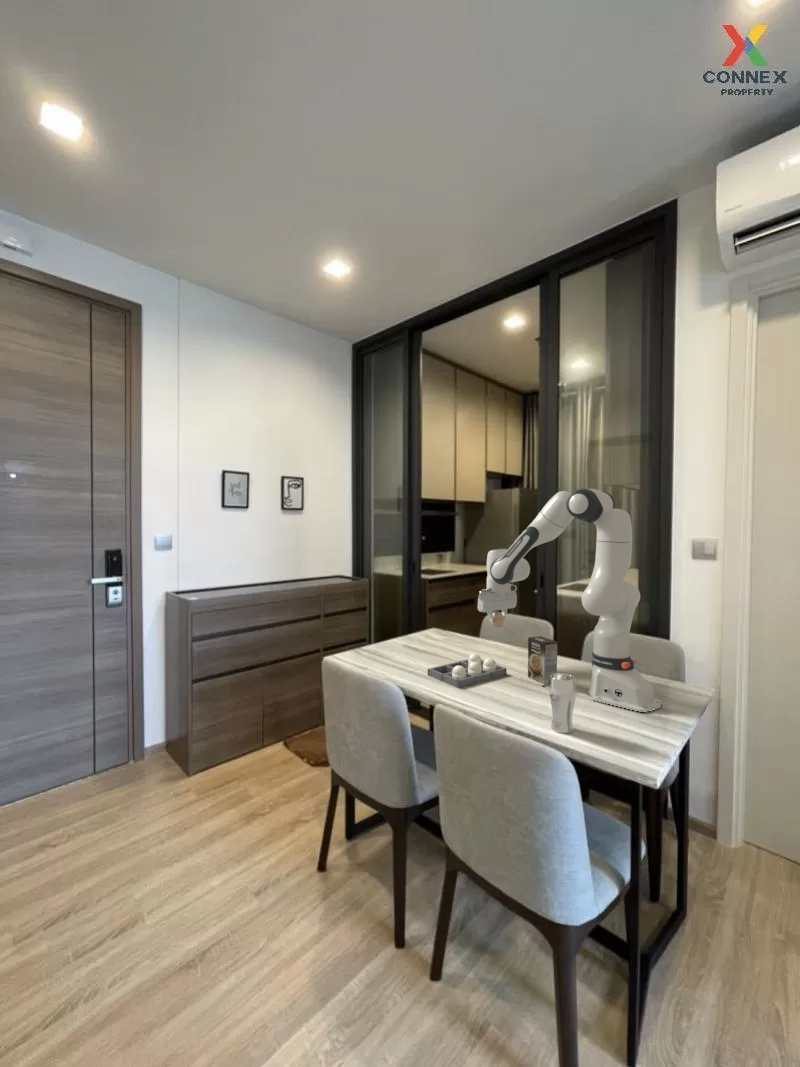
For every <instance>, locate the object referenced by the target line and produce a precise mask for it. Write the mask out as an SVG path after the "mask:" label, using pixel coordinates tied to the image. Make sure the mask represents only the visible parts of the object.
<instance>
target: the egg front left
mask: <svg viewBox="0 0 800 1067" xmlns="http://www.w3.org/2000/svg"><path fill="white" fill-rule="evenodd" d="M452 677H453V678H455V679H458V680H459V679H463V678H466V670H465V668H464V667H462V666H460V665H458V666H455V667H454V668H453V670H452Z"/></svg>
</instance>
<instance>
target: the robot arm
mask: <svg viewBox="0 0 800 1067" xmlns="http://www.w3.org/2000/svg"><path fill="white" fill-rule="evenodd" d="M616 505H617V504H616V500H615V497H613V495H612V494H610V493H609V492H607V491H604V490H599V489H596V488H579V489H576V490H574V491H572V492H570V491H566V490H561V491H558V492H556V493H555V494H554V495H553V496H552V497H551V498H549V500H548V501H547V502H546V503H545V505H544V506H543V507H542V509H541V510H540V511H539V512H538V514H537V515H536V516H535V518H534V519H533V520H532V522H530V524H529V525H528V526H527V527H526V528H525V529H524V530H523V531H522V532H521V534H519V535H518V536H517V538H516V539H515V540H514V541H513V542H512V543H511V545H510V546H509V547H508V548H504V547H503V548H502V547H501V548H494V549H490V550H489V551H488V553H487V558H486V574H487V576H486V588H483V589H481V590H480V591H479V593H478V598H477V611H478V612H480V613H486V614H487V616H488V620H489V622H490V623H491V622H494V621H495V617H493V615H492V614H493V612H496V611H501V613H502V614H503V621H506V615H507V613H508V609H509V610H510V609H514V608H516V607H517V602H518V599H517V598H518V595H517V592H516V591H517V589H518V588H517V585H515V584H512V583H515V582H520V581H524V580H526V579H527V578H528V577H529V575H530V574H531V565H530V563H529V561H528V560H527V559H526V558H524V557H525V556H526V555H527V554H528V552H530V551H531V550H532V549H533V548H535V547H537V546H539V545H542V544H545V543H548V542H551V541H554V540H555V539H556V538H558V537H559V536H560V535H562V533H563V532H564V531H565V529H566V528H567V527H568V526H569V524H570V523H571V522H572V521H573V520H574V519H575V518H576V519H577V520H580V521H582V522H586V523H588V524H594V525H595V527H596V541H595V542H596V543H595V545H596V546H595V559H594V565H593V570H592V573H591V577H590V580H589V583H588V585H587V587H586V588H585V589H584V591H583V592H582V595H581V604H582V607H583V608H584V610H585V611H586V612H587V613H589V614H590V615H593V616H597V617H599V619H598V622H597V623H596V625H595V627H594V629H593V650H592V652H591V666H592V673H591V679H590V684H589V687H588V690H587V693H588V695H589V694H590V697H592V698H593V699H592V698H591V699H592V701H594V700H595V701H594V702H597V701H598V702H597V703H601V702H602V703H601V704H605V703H606V704H605V705H608V704H610V705H609V706H612V705H614V706H613V707H616V706H618V708H620V707H622V708H621V709H624V708H626V709H625V710H628V709H630V710H629V711H632V710H634V711H633V712H636V711H639V712H638V713H640V712H644V711H650V710H653V709H656V708H658V707H659V706H661V704H662V705H663V702H662V700H661V699H658V698H656V697H655V693H654V692H655V691H654V687H653V685H652V683H650V681H648V679H646V678H645V677H644V676H643V675H642V674H641V673H640V672H639V671H637V669H635V664H637V659H634V660H633V659H632V658H631V656H630V633H631V632H630V631H631V627H632V623H633V620H634V619H633V618H634V614H635V611H636V608H637V607H638V605H639V602H640V601H641V592H640V590H639V589H638V587H637V586H636V585H635V584H634V583H632V582H629V581H626V580H625V579H626V576H627V573H628V571H629V570H630V568H631V565H632V555H633V554H632V553H633V552H632V550H633V527H632V520H631V516H630V513H628V512H627V511H626V510H624V509H621V508H616ZM661 707H662V706H661Z"/></svg>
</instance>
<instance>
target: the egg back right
mask: <svg viewBox="0 0 800 1067" xmlns="http://www.w3.org/2000/svg"><path fill="white" fill-rule="evenodd" d="M481 660H482V658H481V656H480V655H479V654H478V653H476V652H474V653H471V654H470V655H469V656H468V664H470V663H471V662H478V663H479V664H480V665H481Z"/></svg>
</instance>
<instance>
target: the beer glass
mask: <svg viewBox="0 0 800 1067" xmlns="http://www.w3.org/2000/svg"><path fill="white" fill-rule="evenodd" d="M576 692H577V691H576V678H575V676H573V675H571V674H568V673H559V672H557V673H555V674H552V675H551V679H550V686H549V699H550V704H551V705H550V706H551V712H552V718H551V725H550V728H551V730H552V731H554V730H555V731H554V732H556V731H557V733H559V732H562V733H561V734H571V733H570V732H572V731H573V732H574V724H573V713H574V708H575V702H576V694H577V693H576ZM573 732H572V733H573Z"/></svg>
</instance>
